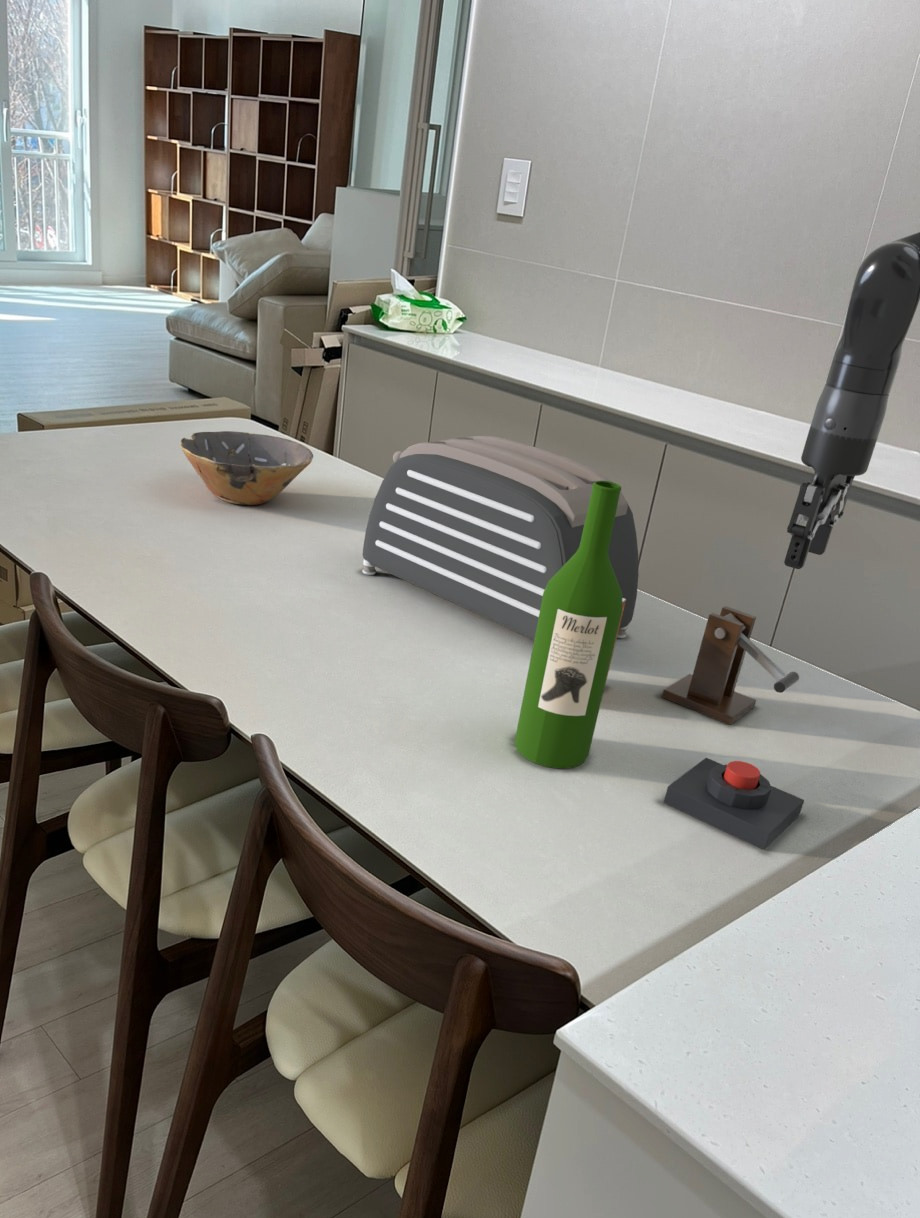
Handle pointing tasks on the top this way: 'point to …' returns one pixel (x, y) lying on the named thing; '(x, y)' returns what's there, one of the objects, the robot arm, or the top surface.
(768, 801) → the control block
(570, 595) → the wine bottle
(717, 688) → the bracket
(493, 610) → the toaster
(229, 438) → the bowl
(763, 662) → the lever
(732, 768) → the button
